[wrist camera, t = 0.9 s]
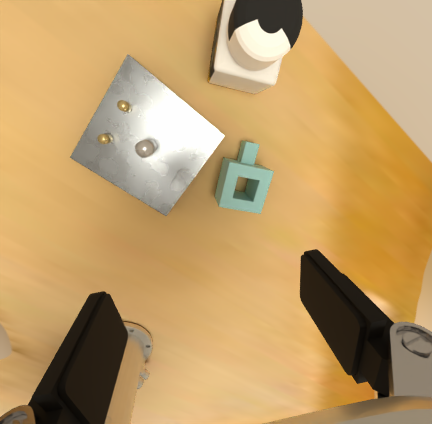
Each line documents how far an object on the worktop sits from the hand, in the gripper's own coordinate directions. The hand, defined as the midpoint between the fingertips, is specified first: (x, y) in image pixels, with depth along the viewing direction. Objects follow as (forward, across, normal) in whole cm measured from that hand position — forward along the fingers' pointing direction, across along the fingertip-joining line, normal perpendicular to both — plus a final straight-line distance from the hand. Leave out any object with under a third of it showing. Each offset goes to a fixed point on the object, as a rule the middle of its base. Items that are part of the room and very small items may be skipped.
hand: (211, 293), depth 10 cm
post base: (+25, +6, -5) cm, 26 cm away
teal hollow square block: (+25, -7, +1) cm, 26 cm away
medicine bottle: (+26, -8, -14) cm, 30 cm away
